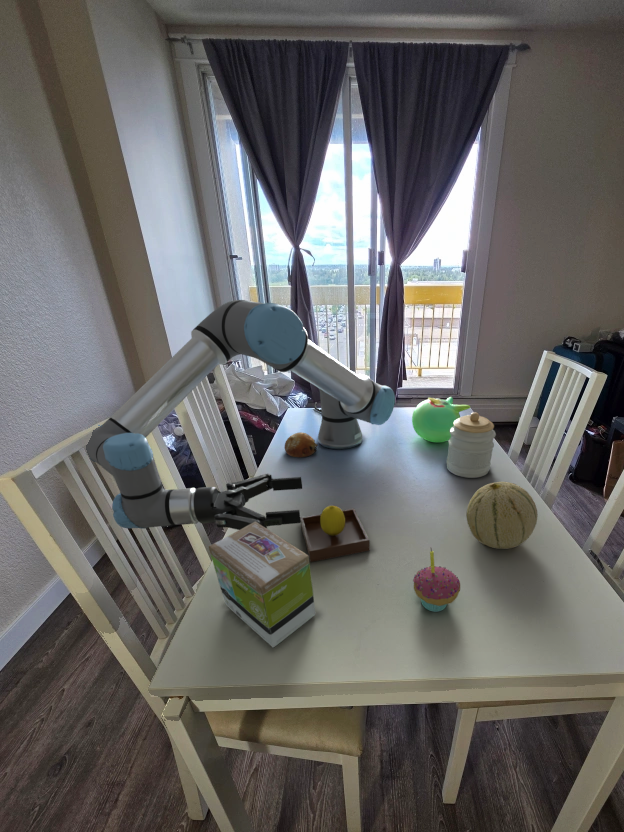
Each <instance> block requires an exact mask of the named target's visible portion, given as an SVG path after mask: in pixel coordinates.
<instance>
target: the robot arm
mask: <svg viewBox="0 0 624 832" xmlns="http://www.w3.org/2000/svg"><path fill="white" fill-rule="evenodd" d="M190 335H191V338H190V339H189V340H188V341H187V342H186V343H185V344H184V345H183V346H182V347H181V348H180V349H179V350H178V351H177V352H175V354H174V355H173V356H172V357H171V358H170V359H168V361H166V362H165V364H164V365H163V366H161V368H159V369H158V370H157V372H155V373H154V374H153V375H152V376H151V377H150V378H149V379H148V380H147V381H146V382H145V383H144V384H143V385H142V386H141V387H140V388H139V389H138V390H137V391H136V392H135V393H133V394H132V396H131V397H130V398H129V399H128V400H127V401H126V402H124V403H123V404H122V405H121V406H120V407H119V408H118V409H117V410H116V411H115V412H114V413H113V414H112V415H111V416H110V417H109V418H107V420H106V421H105V422H104V423H102V424H97V425H98V426H100V425H101V426H100V427H98V428H96V429H95V430H93V432H92V436H91V438H90V440H89V442H88V444H87V445H86V450H87V453H88V455H89V457H90V458H89V457H88V458H89V460H91V461H92V462H94V463H96V464H97V465H99V466H100V467H101V468H102V469H104V471H106V472H107V473H109V474H110V475H111V476H112V477H113V479H114V481H115V483H116V486H117V488H118V490H119V493H117V494H116V495H115V497H114V498H113V501H112V504H111V505H112V506H111V510H112V511H113V513H112V517H113V518H114V521H115V523H116V524H117V525H118V526H119V527H121V528H124V529H148V528H157V527H168V526H183V525H184V526H185V525H195V524H198V523H200V524H214V523H215V524H216V527H217V528H229V529H233V530H237V531H239V530H240V529H242V528H244V527H246V526H248V525H250V524H251V523H253V522H255V521H256V522H257V523H259V524H260V525H262V526H263V527H265V528H266V529H268V527H275V526H276V527H277V526H283V525H293V524H295V525H296V524H301V520H300V517H301V512H300V509H292V510H280V511H277V510H276V511H266V512H265V515H264V514H262V513H259V512H257V511H255V510H253V509H250V508H248V507H245V505H246V503H249V501H250V499H252V498H254V497H257V496H259V495H261V494H264V493H265V492H268V491H270V490H272V489H273V491H272V492H276V491H291V490H292V491H293V490H303V481H302V476H295V477H280V478H273V477H272V476H273V475H272V474H271V473H264V474H260V475H257V476H254V477H253V476H252V477H250V478H247V479H243V480H239V481H235V482H227V483H226V484H225V487H226V490H224V491H220V490H219V489H218V487H215V486H203V487H198V488H195V487H188V488H176V489H175V488H174V489H165V488H164V486H163V482H162V480H161V476H160V474H159V469H158V467H157V464H156V460H155V457H154V452H153V449H152V448H151V446H150V444H149V441H148V438H147V437H148V436H149V435H151V433H152V432H153V431H154V430H155V429H156V428H157V427H158V426H159V425H160V424H161V423H163V421H164V420H165V419H166V418H167V417H168V416H169V415H170V414H171V413H172V412H173V411H174V410H175V409H176V408H177V407H178V406H179V405H180V404H182V402H183V401H184V400H185V399H186V398H187V397H188V396H189V395H190V394H191V393H192V392H193V391H194V390H195V389H196V388H197V386H198V385H200V384H201V383H202V381H204V380H205V379H206V378H207V377H208V375H209V374H211V373H212V371H214V369H215V368H217V367H218V366H219V365H223V366H224V365H226V364H227V363H229V361H230V360H231V359H232V358H234V357H236V356H239V355H243V356H246V357H250V358H254V359H256V360H259V361H260V362H262V363H264V364H266V365H267V366H268V367H270V368H272V369H275V370H276V371H278V372H279V373H289V372H292V373H293V374H295V375H297V376H298V377H300V378H301V379H303V380H304V381H306V382H308V383H310V384H311V385H313V386H315V387H316V388H318V390H319V399H320V400H319V401H320V408H318V407H317V405H318V403H317V401H315V402H313V403H314V404H313V409H314V410H315V411H317V412H320V413H321V423H320V426H319V430H318V434H317V440H318V444H319V445H320V446H322V447H323V448H326V449H331V450H346V449H352V448H354V447H355V448H356V447H358V446H359V445H360V444H361V443H362V442H363V432H362V429H361V426H360V424H359V420H360V421H363V422H366V423H369V424H371V425H376V426H382V425H384V424H385V423H386V422H387V421H388V420H389V419H390V417H391V416H392V414H393V411H394V408H395V403H396V401H395V400H396V397H395V392H394V391H393V389H392V388H391V387H389V386H387V385H382V384H379V383H377V382H375V380H373V379H371V378H370V377H369V376H368V375H365V374H363V373H359V374H356V372H355V371H353V370H350V369H349V368H348V367H347V366H345V365H344V364H342V363H341V362H339V361H338V360H337V359H335V358H334V357H333V356H331V354H329V353H327V352H326V351H325V350H324V349H322V348H321V347H320V346H318V345H316V344H315V343H314V342H312V340H310V339H309V335H308V332H307V330H306V329H305V327H304V324H303V322H302V320H301V318H300V317H299V316H298V315H297V313H296V312H294V310H293V309H290V308H288V307H286V306H284V305H281V304H279V303H274V302H257V301H250V300H245V299H234V300H230V301H227V302H225V303H223V304H222V305H220V306H218V307H217V308H215V309H214V310H213V311H212V312H210V313H209V314H208V315H207V316H206V317H205V318H204V319H202V321H200V322H199V323H198V324H197V325H196V326H195V327H194V328H193V329H192V330H191V331H190ZM319 409H320V410H319ZM90 427H91V426H89V427H87V428H86V429H88V428H90Z"/></svg>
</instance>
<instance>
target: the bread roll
mask: <svg viewBox="0 0 624 832" xmlns="http://www.w3.org/2000/svg"><path fill="white" fill-rule="evenodd" d="M318 446H319V445H318V444H317V443H316V440H315V439H314V438H313V437H312V436H311V435H310V434H308V433H306V432H302V431H300V432H295V433H293V434H291V435H290V436H288V438H287V439H286V440H285V442H284V452H285V453H286V454H287V455H288V456H290V457H291V458H306V457H308V458H309V457H310V456H312V455H314V454H315V453H316V452H317V451H318V450H317V447H318Z"/></svg>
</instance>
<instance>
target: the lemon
mask: <svg viewBox="0 0 624 832" xmlns="http://www.w3.org/2000/svg"><path fill="white" fill-rule="evenodd" d="M342 510H343V509H341V508H340V507H339V506H336V505H328V506H326V507H325V508H324V509H323V510H322V512H321V513H320V514H321V518H320V524H321V527H322V529H323V531H324V532H325V533H326V534H328V535H332V536H335V535H338V534H340V533H341V532H342V531H343V529H344V526H345V517H344V514H343V511H342Z"/></svg>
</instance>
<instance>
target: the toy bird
mask: <svg viewBox="0 0 624 832" xmlns="http://www.w3.org/2000/svg"><path fill="white" fill-rule="evenodd" d="M470 408H471V405H469V404H454V398H453V397H452V396H449V397H448V398H446V399H442V398H434V397H427V399H425V400H422V401H421V402H420V403H418V404H417V406H416V407H415V408H414V410H413V412H412V416H411V424H412V428H413V430H414V432H415V433H416V434H417V436H419V437H420V438H421V439H422V440H425V441H427V442H429V443H430V442H431V443H437V444H438V443H439V444H440V443H445V442H449V439H450V438H451V434H450V429H451V428H452V427H453V426H454V424H453V423H454V421H455V420H456V419H459V418H460V417H461V414H460V413H461V412H464V411H466V410H469V409H470Z"/></svg>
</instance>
